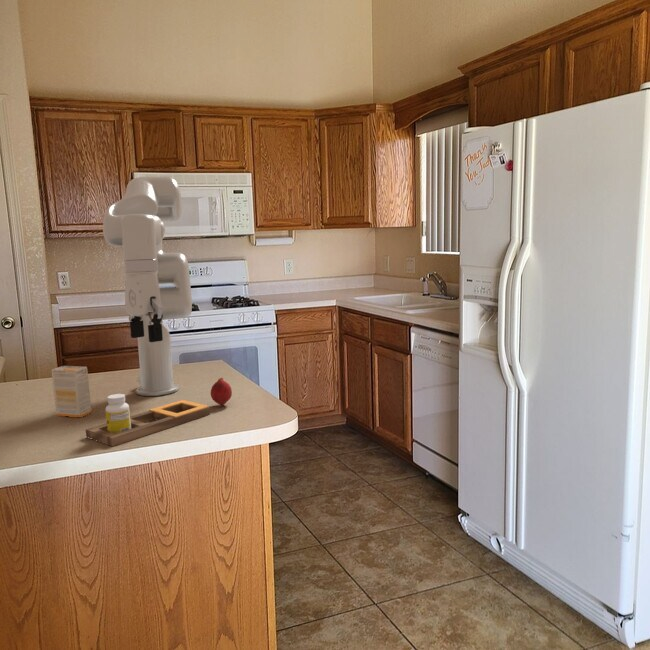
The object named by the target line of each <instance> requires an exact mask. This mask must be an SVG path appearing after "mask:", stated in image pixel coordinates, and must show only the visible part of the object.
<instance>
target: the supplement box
mask: <svg viewBox="0 0 650 650" xmlns="http://www.w3.org/2000/svg"><path fill="white" fill-rule="evenodd" d="M51 378H52V385H53V386H52V387H53V395H54V404H55V413H56V415H55V416H57V415H61V416H60V417H65V416H69V418H77V417H81V418H83V416H84V417H86V416H88V415H90V414H89V413H91V414H92V402H91V392H90V382H89V372H88V367H87V366H75V365H61V366H59V367H54V368H52V369H51ZM87 414H88V415H87ZM85 415H86V416H85Z"/></svg>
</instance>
